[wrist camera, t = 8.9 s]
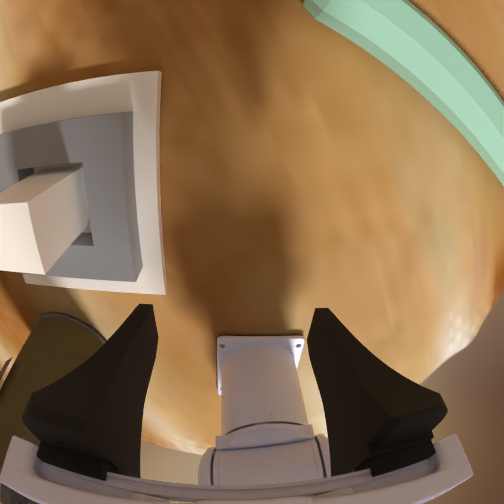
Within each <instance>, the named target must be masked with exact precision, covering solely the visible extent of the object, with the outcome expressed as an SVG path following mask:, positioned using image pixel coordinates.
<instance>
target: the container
mask: <svg viewBox="0 0 504 504" xmlns="http://www.w3.org/2000/svg"><path fill="white" fill-rule="evenodd" d="M303 6H304V7H305V8H306V9H307V11H308V12H309V13H310V14H311V15H312V16H313V18H314V19H315V20H317V21H319V22H321V23H323V24H324V25H326V26H328V27H330V28H331V29H333V30H335V31H336V32H338V33H340V34H341V35H343V36H344V37H346V38H347V39H349V40H351V41H352V42H354V43H355V44H357V45H358V46H360V47H361V48H363V49H364V50H366V51H367V52H368V53H370V54H371V55H373V56H374V57H375V58H377V59H378V60H380V61H381V62H382V63H384V64H385V65H386V66H387V67H389V68H390V69H391V70H393V71H394V72H395V73H396V74H398V75H399V76H400V77H401V78H403V79H404V80H405V81H406V82H407V83H409V84H410V85H411V86H412V87H413V88H414V89H416V90H417V91H418V92H419V93H420V94H421V95H422V96H424V97H425V98H426V99H427V100H428V101H429V102H430V103H431V104H432V105H433V106H434V107H435V108H436V109H437V110H438V111H439V112H441V113H442V114H443V115H444V116H445V117H446V118H447V119H448V121H449V122H450V123H451V124H452V125H453V126H454V127H455V128H456V129H457V130H458V131H459V132H460V133H461V134H462V135H463V136H464V138H465V139H466V140H467V141H468V142H469V143H470V144H471V145H472V147H473V148H474V149H475V150H476V151H477V153H478V154H479V155H480V156H481V157H482V159H483V160H484V161H485V162H486V164H487V165H488V166H489V167H490V169H491V170H492V171H493V173H494V174H495V175H496V177H497V178H498V179H499V181H500V182H501V183H502V185H503V186H504V101H503V100H502V99H501V97H500V96H499V94H498V93H497V92H496V90H495V89H494V88H493V86H492V85H491V84H490V82H489V81H488V80H487V79H486V77H485V76H484V75H483V74H482V73H481V71H480V70H479V69H478V68H477V67H476V65H475V64H474V63H473V62H472V61H471V60H470V59H469V57H468V56H467V55H466V54H465V53H464V52H463V51H462V50H461V49H460V48H459V47H458V46H457V44H456V43H455V42H454V41H453V40H452V39H451V38H450V37H449V36H448V35H447V34H446V33H445V32H443V31H442V30H441V29H440V28H439V27H438V26H437V25H436V24H435V23H434V22H433V21H432V20H431V19H429V18H428V17H427V16H426V15H425V14H424V13H423V12H421V11H420V10H419V9H418V8H417V7H415V6H414V5H413V4H412V3H410V2H409V1H408V0H304V2H303Z"/></svg>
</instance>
